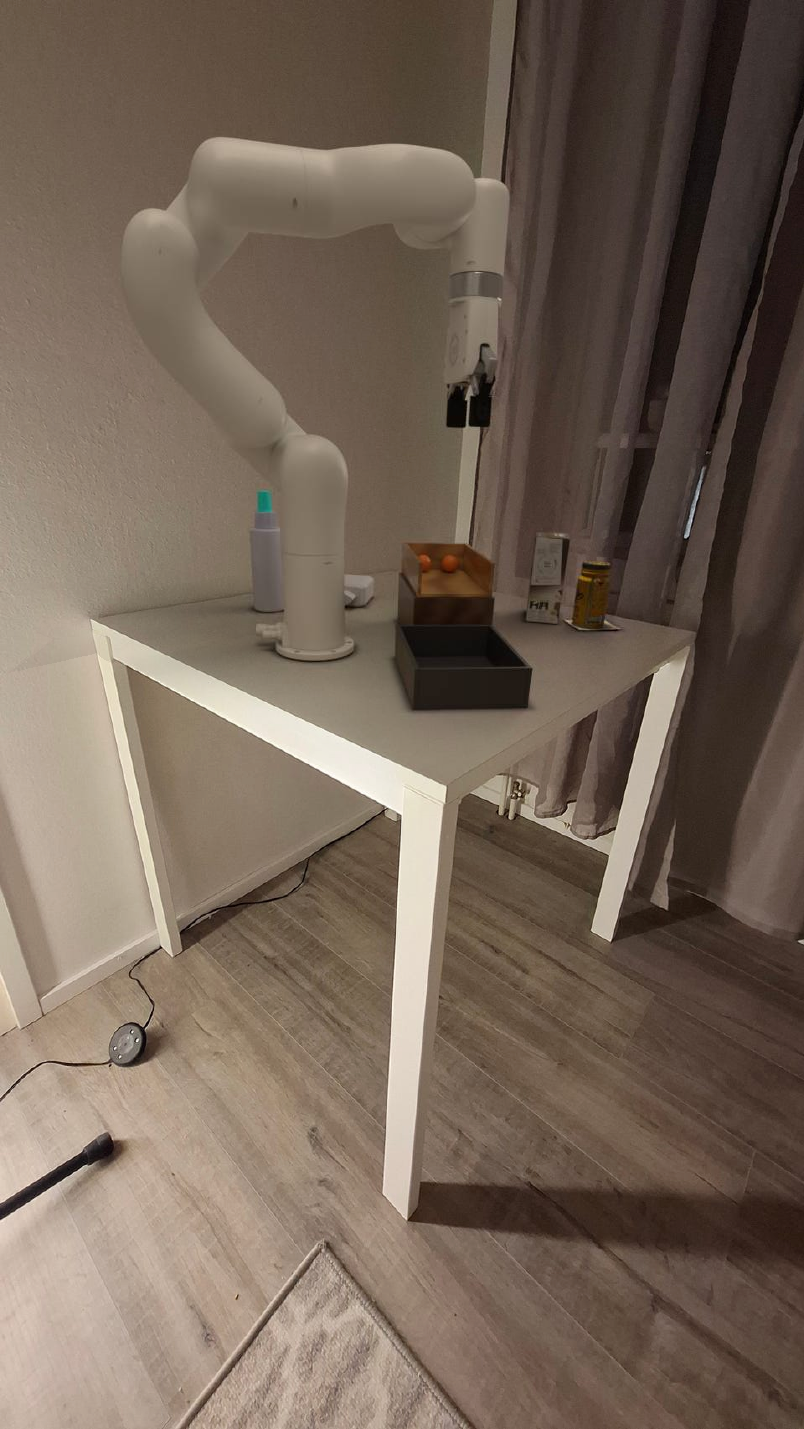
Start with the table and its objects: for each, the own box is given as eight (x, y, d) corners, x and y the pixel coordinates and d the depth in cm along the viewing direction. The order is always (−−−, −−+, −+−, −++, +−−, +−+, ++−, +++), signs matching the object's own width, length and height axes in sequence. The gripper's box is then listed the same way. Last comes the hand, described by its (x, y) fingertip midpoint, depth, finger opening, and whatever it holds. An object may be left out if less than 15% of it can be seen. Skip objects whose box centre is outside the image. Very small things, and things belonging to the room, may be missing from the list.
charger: (313, 611, 121) (332, 595, 135) (359, 615, 120) (373, 597, 134) (312, 587, 119) (332, 573, 133) (359, 591, 118) (373, 575, 132)
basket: (412, 709, 78) (414, 669, 76) (394, 658, 97) (395, 624, 94) (527, 707, 80) (532, 668, 78) (488, 657, 99) (492, 624, 96)
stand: (411, 652, 100) (414, 597, 96) (397, 619, 118) (398, 572, 114) (489, 652, 101) (494, 598, 98) (463, 619, 119) (467, 573, 116)
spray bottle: (291, 609, 122) (287, 492, 114) (268, 614, 118) (261, 493, 109) (271, 603, 126) (265, 489, 117) (247, 608, 121) (240, 490, 112)
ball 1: (415, 573, 111) (416, 556, 109) (413, 570, 113) (413, 553, 112) (431, 573, 111) (432, 556, 110) (429, 570, 114) (429, 553, 112)
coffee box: (558, 624, 119) (571, 538, 112) (525, 621, 120) (535, 536, 113) (557, 613, 127) (568, 532, 120) (525, 610, 128) (535, 530, 121)
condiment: (563, 620, 122) (572, 559, 117) (603, 620, 123) (614, 559, 118) (579, 631, 115) (589, 566, 110) (621, 630, 116) (632, 566, 111)
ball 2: (442, 573, 111) (443, 556, 110) (439, 570, 114) (440, 553, 113) (458, 573, 112) (460, 556, 110) (455, 570, 114) (456, 554, 113)
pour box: (457, 566, 121) (459, 538, 119) (491, 597, 98) (495, 563, 95) (397, 565, 120) (398, 537, 118) (417, 597, 96) (418, 562, 94)
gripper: (431, 303, 94) (426, 427, 101) (473, 277, 79) (464, 425, 86) (477, 307, 96) (469, 428, 103) (526, 283, 80) (513, 427, 87)
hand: (466, 427), depth 94 cm, fingers open, 9 cm apart
